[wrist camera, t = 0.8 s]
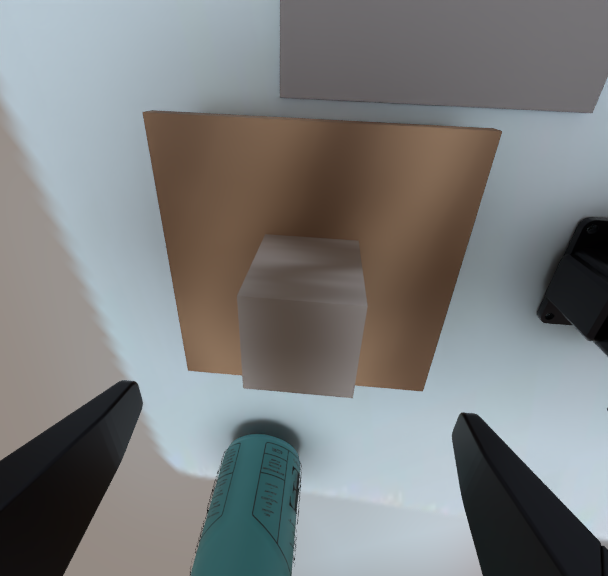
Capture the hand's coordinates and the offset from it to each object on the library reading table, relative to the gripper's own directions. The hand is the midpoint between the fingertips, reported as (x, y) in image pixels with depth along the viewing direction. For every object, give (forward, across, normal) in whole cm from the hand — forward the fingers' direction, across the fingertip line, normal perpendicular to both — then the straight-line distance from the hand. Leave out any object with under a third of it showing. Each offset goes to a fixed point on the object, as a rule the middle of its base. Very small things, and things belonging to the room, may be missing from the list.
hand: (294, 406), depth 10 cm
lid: (+8, 0, 0) cm, 8 cm away
